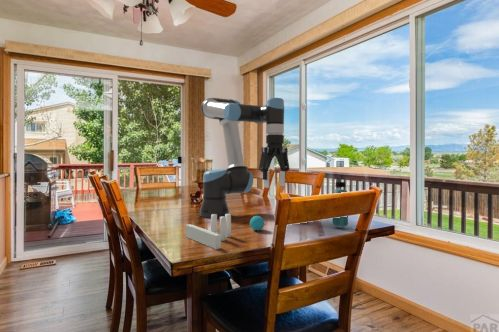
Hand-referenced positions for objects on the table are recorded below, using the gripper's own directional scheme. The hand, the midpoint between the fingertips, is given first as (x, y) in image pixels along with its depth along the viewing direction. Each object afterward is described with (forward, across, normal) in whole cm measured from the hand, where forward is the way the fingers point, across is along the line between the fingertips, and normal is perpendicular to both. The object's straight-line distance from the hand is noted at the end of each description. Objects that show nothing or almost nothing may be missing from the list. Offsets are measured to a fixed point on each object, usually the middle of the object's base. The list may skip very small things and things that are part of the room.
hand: (274, 186), depth 131 cm
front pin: (+17, +25, 0) cm, 31 cm away
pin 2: (+17, +29, +3) cm, 34 cm away
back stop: (+17, +36, 0) cm, 40 cm away
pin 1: (+17, +30, -3) cm, 34 cm away
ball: (+14, +10, 0) cm, 18 cm away
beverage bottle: (+18, -20, +20) cm, 33 cm away
